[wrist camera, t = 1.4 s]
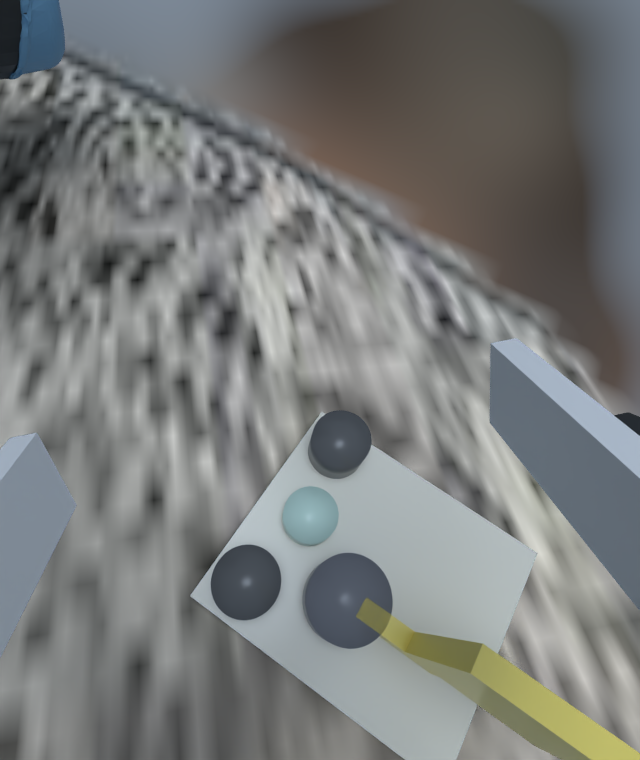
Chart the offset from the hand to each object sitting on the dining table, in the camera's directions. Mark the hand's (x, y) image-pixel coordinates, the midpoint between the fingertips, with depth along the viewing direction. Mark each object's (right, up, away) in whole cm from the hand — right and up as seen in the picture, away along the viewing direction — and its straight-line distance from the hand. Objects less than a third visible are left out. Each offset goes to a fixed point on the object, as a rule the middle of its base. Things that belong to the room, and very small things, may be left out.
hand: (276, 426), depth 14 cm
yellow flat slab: (+7, -15, +15) cm, 22 cm away
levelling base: (+5, -12, +19) cm, 23 cm away
